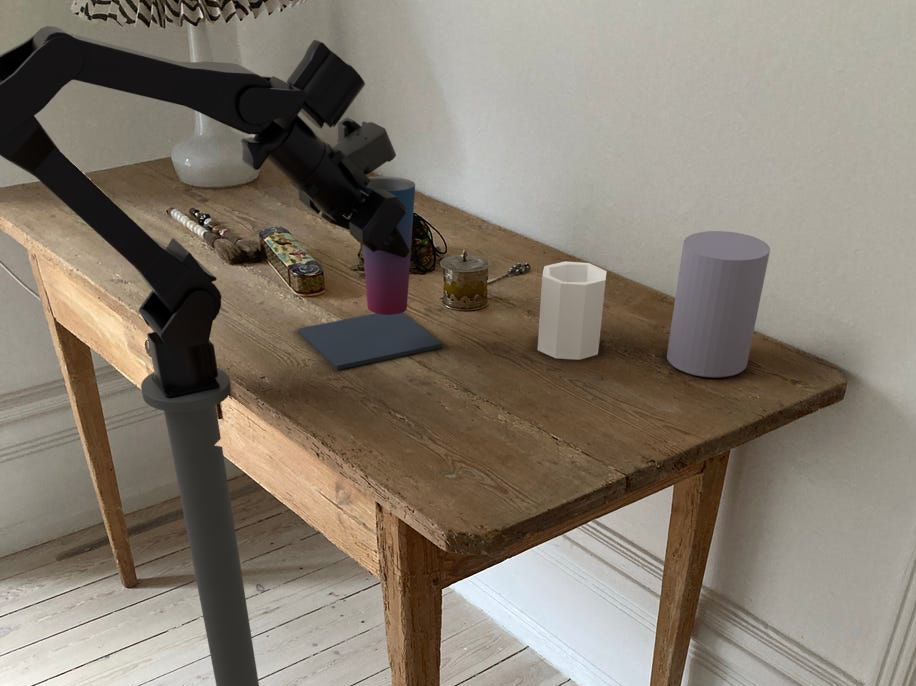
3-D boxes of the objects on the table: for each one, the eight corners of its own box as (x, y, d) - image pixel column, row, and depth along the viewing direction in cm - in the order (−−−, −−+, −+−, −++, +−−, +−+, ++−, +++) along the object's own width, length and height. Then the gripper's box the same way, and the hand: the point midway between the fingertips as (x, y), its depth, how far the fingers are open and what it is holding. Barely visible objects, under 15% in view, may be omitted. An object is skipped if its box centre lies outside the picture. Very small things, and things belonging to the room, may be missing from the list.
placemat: (337, 370, 129) (337, 365, 129) (298, 332, 138) (297, 328, 138) (442, 347, 135) (442, 343, 135) (398, 313, 144) (398, 308, 144)
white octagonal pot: (609, 357, 134) (617, 282, 128) (546, 362, 132) (551, 287, 126) (579, 321, 143) (585, 249, 137) (520, 326, 141) (523, 253, 135)
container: (671, 341, 138) (688, 227, 129) (748, 351, 137) (771, 236, 127) (661, 373, 131) (679, 254, 121) (744, 384, 129) (768, 264, 119)
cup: (376, 320, 128) (375, 192, 119) (351, 303, 132) (347, 179, 123) (423, 312, 131) (425, 187, 122) (397, 296, 135) (397, 174, 126)
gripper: (389, 119, 108) (475, 214, 120) (315, 83, 121) (399, 172, 132) (325, 206, 110) (416, 291, 122) (258, 162, 122) (347, 244, 134)
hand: (395, 246), depth 127 cm, fingers closed on cup, 6 cm apart
